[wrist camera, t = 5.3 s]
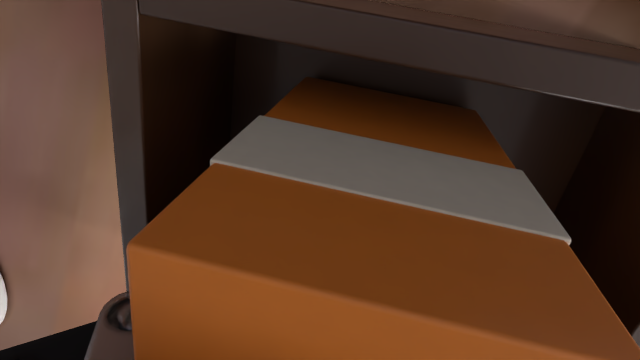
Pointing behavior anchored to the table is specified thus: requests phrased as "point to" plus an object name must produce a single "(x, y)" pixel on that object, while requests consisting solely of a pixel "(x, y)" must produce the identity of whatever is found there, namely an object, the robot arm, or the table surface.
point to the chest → (387, 76)
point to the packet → (364, 245)
